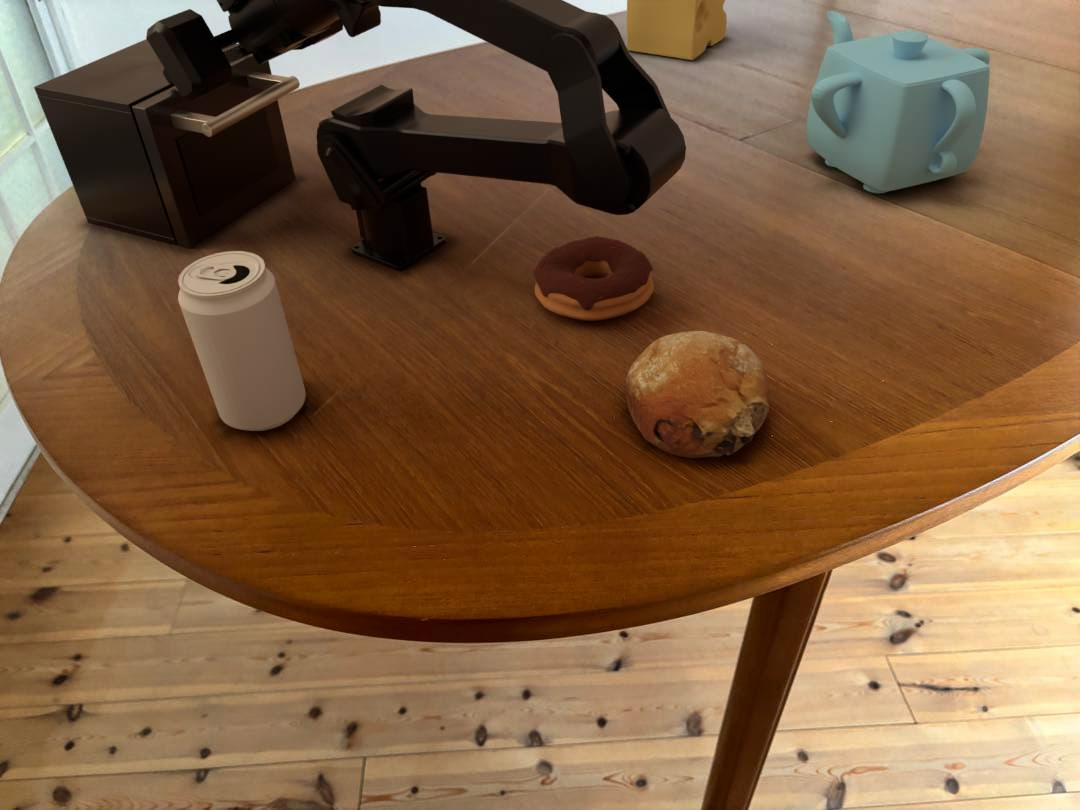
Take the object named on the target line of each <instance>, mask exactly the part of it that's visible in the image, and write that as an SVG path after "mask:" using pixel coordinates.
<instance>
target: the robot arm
mask: <svg viewBox="0 0 1080 810" xmlns="http://www.w3.org/2000/svg"><path fill="white" fill-rule="evenodd" d="M216 2H217V4H218V5H219V8H220V9H221V11H222V12H223V13H226V12H228V14H229V15H228V17H227V18H228V23H229V27H230V29H229V30H227V31H223V32H221V33H219V34H217V35H214V34H213V33H212V30H211V29H210V27H209V26H208V23H207V22H206V20H205V19H204V17H203V15H201V14H200V13H198V12H196V11H194V10H193V9H191V8H188V9H186V10H183V11H181V12H177V13H176V14H172V15H170V16H167V17H164V18H163V19H159V20H157V21H156V22H155V23H153V24H152V25H151V26H150V27H148V28H147V30H146V36H145V39H147V40H148V42H149V44H150V45H151V47H152V49H153V50H154V52H155V54H156V55H157V57H158V58H159V60H160V62H161V63H162V65H163V67H164V70H163V75H164V77H165V78H166V80H167V81H168V83H169V84H171V85H175V86H176V88H177V89H178V91H179V93H180V94H181V96H182V98H184V99H187V100H189V101H191V102H192V101H194V100H196V99H199V98H201V97H203V96H205V95H207V94H209V93H211V92H214V91H216V90H217V89H219V88H221V87H223V86H225V85H227V84H228V83H230V82H232V67H231V65H230V63H233V62H235V61H237V60H239V59H242V58H244V57H246V56H248V55H251V54H253V56H254V58H255V60H256V61H257V63H258V65H260V64H262V63H265V62H267V61H269V62H270V61H271V60H274V59H275V58H278V57H279V56H282V55H284V54H286V53H288V52H292V51H300V50H305V49H306V48H308V47H311V46H315V45H316V44H319V43H321V42H324V41H326V40H327V39H329V38H331V37H333V36H335V35H337V34H338V33H339V32H341V31H343V30H344V29H345V32H346V33H347V35H348V36H349V37H350V38H355V37H358V36H359V35H362V34H364V33H366V32H368V31H370V30H373V29H375V28H377V27H379V26H381V23H382V14H381V13H382V12H381V10H380V7H382V8H383V7H384V8H400V9H415V10H418V11H422V12H424V13H428V14H430V15H432V16H434V17H436V18H438V19H440V20H442V21H444V22H446V23H448V24H450V25H452V26H454V27H456V28H458V29H460V30H462V31H464V32H466V33H468V34H470V35H471V36H474V37H476V38H478V39H480V40H481V41H484V42H485V43H488V44H490V45H492V46H494V47H496V48H498V49H500V50H502V51H504V52H506V53H508V54H510V55H512V56H514V57H516V58H518V59H520V60H523V61H524V62H526V63H529V64H530V65H533V66H535V67H537V68H538V69H541V70H542V71H544V72H546V73H547V75H548V76H549V79H550V81H551V83H552V85H553V87H554V89H555V91H556V93H557V99H558V100H557V101H558V107H559V108H558V109H559V113H560V121H561V122H555V121H537V120H522V119H510V118H509V119H508V118H507V119H506V118H492V117H480V116H479V117H477V116H476V117H475V116H462V115H449V114H448V115H447V114H433V113H432V114H431V113H427V112H424V111H423V109H421V108H420V107H419V106H418V105H417V104H416V103H415V101H414V99H415V98H414V90H413V88H412V87H404V88H400V89H395V88H389V87H387V86H386V85H383V84H379V85H377V86H375V87H374V88H372V89H369V90H367V91H366V92H364V93H362V94H360V95H358V96H356V97H355V98H353V99H351V100H350V101H349V100H348V101H347V102H345V103H343V104H341V105H340V106H337V107H336V108H334V109H332V110H331V111H330V114H331V115H330V116H328V117H326V118H324V119H322V120H321V121H319V122H318V127H317V129H316V151H317V156H318V158H319V160H320V162H321V164H322V166H323V169H324V170H325V173H326V175H327V178H328V180H329V181H330V183H331V186H332V188H333V190H334V192H335V194H336V196H337V198H338V200H339V201H340V202H341V203H344V204H348V205H349V206H350V208H351V210H352V211H355V213H356V218H357V219H356V220H357V224H358V229H359V235H360V238H362V240H361V241H359V242H357V243H355V244H353V245H352V246H351V253H352V254H353V255H356V256H359V257H362V258H364V259H366V260H369V261H371V262H374V263H377V264H380V265H382V266H385V267H386V268H390V269H393V270H395V271H403V270H405V269H407V268H409V267H411V266H412V265H414V264H415V263H416V262H418V261H420V260H421V259H422V258H424V257H426V256H427V255H429V254H430V253H432V252H434V251H435V250H437V249H438V248H439V247H441V246H443V245H444V244H446V243H447V239H446V236H445V235H442V234H439V233H436V232H433V226H432V217H431V210H430V203H429V195H428V190H427V187H425V186H422V183H423V182H425V181H426V180H428V179H429V178H431V177H432V176H435V175H436V174H446V175H454V176H455V175H456V176H465V177H476V178H485V179H493V180H504V181H513V182H522V183H531V184H540V185H549V186H552V187H556V188H557V189H559V191H561V192H562V193H563V194H564V195H565V196H566V197H567V198H568V199H570V200H571V201H572V202H574V203H575V204H576V205H579V206H583V207H586V208H589V209H593V210H595V211H600V212H603V213H607V214H610V215H614V216H627V215H630V214H634V213H635V212H636V211H638V210H639V209H640V208H641V207H642V206H643V205H644V204H645V203H646V202H648V201H649V200H650V198H652V197H653V196H654V195H655V194H656V193H657V192H658V191H659V190H660V189H661V188H662V187H664V186H665V185H666V184H667V183H668V182H669V181H670V180H671V179H672V178H673V177H674V176H675V175H676V174H677V173H678V172H679V171H681V168H682V166H683V164H684V162H685V159H686V152H687V145H686V140H685V136H684V134H683V131H682V130H681V128H680V127H679V124H677V122H676V121H675V120H674V119H673V118H672V117H671V114H670V112H669V110H668V108H667V105H666V103H665V101H664V98H663V95H662V93H661V92H660V89H659V87H658V85H657V83H656V82H655V81H654V79H653V78H652V77H651V76H650V75H649V73H647V72H646V70H645V69H644V68H643V67H642V66H641V65H640V64H639V63H638V61H637V60H636V59H635V58H634V57H633V56H632V54H630V52H629V50H628V47H627V46H626V44H625V41H624V39H623V37H622V34H621V32H620V31H619V28H618V26H617V25H616V24H615V22H614V21H613V20H612V19H611V18H609V17H608V16H607V15H605V14H603V13H602V14H601V13H598V12H593V11H592V12H591V11H587V10H585V9H582V8H581V7H578V6H576V5H574V4H572V3H569V2H567V1H565V0H216ZM234 44H239V45H240V46H239V45H238V46H237V47H234V48H231V49H230V50H227V51H224V52H223V51H222V49H225V48H227V47H229V46H232V45H234ZM603 91H604V92H603ZM603 93H606V95H607V96H608V97H609V98H610V99H611V100H612V101H613V102H614V103H615V104H616V106H617V108H618V109H616V110H611V111H607V112H606V108H605V101H604V94H603Z"/></svg>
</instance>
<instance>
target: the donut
mask: <svg viewBox="0 0 1080 810" xmlns="http://www.w3.org/2000/svg"><path fill="white" fill-rule="evenodd" d="M653 268H654V267H653V266H652V263H651V262H650V260H649V259H648V257H647V255H646V254H645V253H643V251H640V250H638V249H637V248H636V247H635V246H632V245H631V244H629V243H626V242H624V241H620V240H619V239H614V238H610V237H605V236H604V237H603V236H596V235H595V236H590V237H586V238H581V239H577V240H573V241H569V242H566V243H564V244H562V245H559V246H556V247H554V248H553V249H551V250H549V251H548V252H546V253H545V254H544V256H542V258H541V259H540V260H539V261H538V263H537V265H535V268H534V270H533V274H532V275H533V278H534V282H535V286H534V294H535V296H536V298H537V300H538V301H539V302H540V303H541V305H542V306H543V308H545V309H546V310H548V311H550V312H551V313H554V314H556V315H558V316H563V317H566V318H570V319H573V320H578V321H590V322H591V321H604V320H609V319H613V318H617V317H620V316H623V315H626V314H628V313H631V312H633V311H635V310H637V309H639V308H641V307H642V306H643V305H644V304H645V303H646V302H647V301H649V299H650V297H651V295H652V294H653V293H654V287H655V283H654V280H653V278H652V277H653V276H652V272H653V271H654V269H653Z"/></svg>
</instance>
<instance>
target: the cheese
mask: <svg viewBox="0 0 1080 810" xmlns="http://www.w3.org/2000/svg"><path fill="white" fill-rule="evenodd" d="M725 2H726V0H626V39H627V50H628V51H631V52H636V53H643V54H649V55H657V56H663V57H670V58H675V59H676V58H677V59H682V60H688V61H694V60H695V59H697V58H698V57H699V56H700V55H702V54H703V53H704V52H705V51H706V48H707V47H708V46H711V47H712V46H714V45H715V44H717V43H719V42H721V41H722V40H723V39H724V38H725V35H726V31H727V25H728V19H727V18H728V16H727V13H726V11H725V9H724V4H725Z"/></svg>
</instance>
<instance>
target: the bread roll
mask: <svg viewBox="0 0 1080 810" xmlns="http://www.w3.org/2000/svg"><path fill="white" fill-rule="evenodd" d="M768 381H769V379H768V375H767V372H766V369H765V367H764V365H763V362H761V360H760V358H759V357H758V356H757V354H756V352H755V351H754V350H753V349H751V348H750V347H749V346H748V345H746V344H744V343H743V342H740V341H739V340H738V339H735V338H733V337H730V336H726V335H724V334H719V333H715V332H709V331H705V330H690V331H680V332H676V333H670V334H667V335H665V336H661V337H659V338H657V339H656V340H654V341H653V342H651V344H649V345H648V346H647V347H646V348H645V349H644V350H643V351H642V352H641V353H640V354H639V356H638V357H637V359H635V360H634V362H633V363H632V364H631V366H630V368H629V370H628V373H627V376H626V382H625V386H626V395H625V396H626V398H625V399H626V405H627V407H628V411H629V414H630V417H631V419H632V421H633V423H634V424H635V425H636V429H638V431H639V432H640V434H641V435H642V436H643V438H644V439H645V440H646V441H647V442H648V443H650V444H651V445H653V446H655V447H656V448H658V449H660V450H661V451H664V452H666V453H667V454H669V455H672V456H676V457H680V458H687V459H688V458H689V459H698V458H699V459H701V458H720V457H722V456H723V455H726V456H730V455H733V454H735V453H736V452H738V451H739V450H740V449H741V448H742V447H743V446H745V445H747V444H749V443H751V442H752V440H753V438H754V435H755V434H756V433H757V432H758V431H759V430H760V429H761V427H762V425H763V423H764V422H765V420H766V418H767V415H768V413H769V412H770V402H769V400H770V399H769V398H770V387H769V382H768Z"/></svg>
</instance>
